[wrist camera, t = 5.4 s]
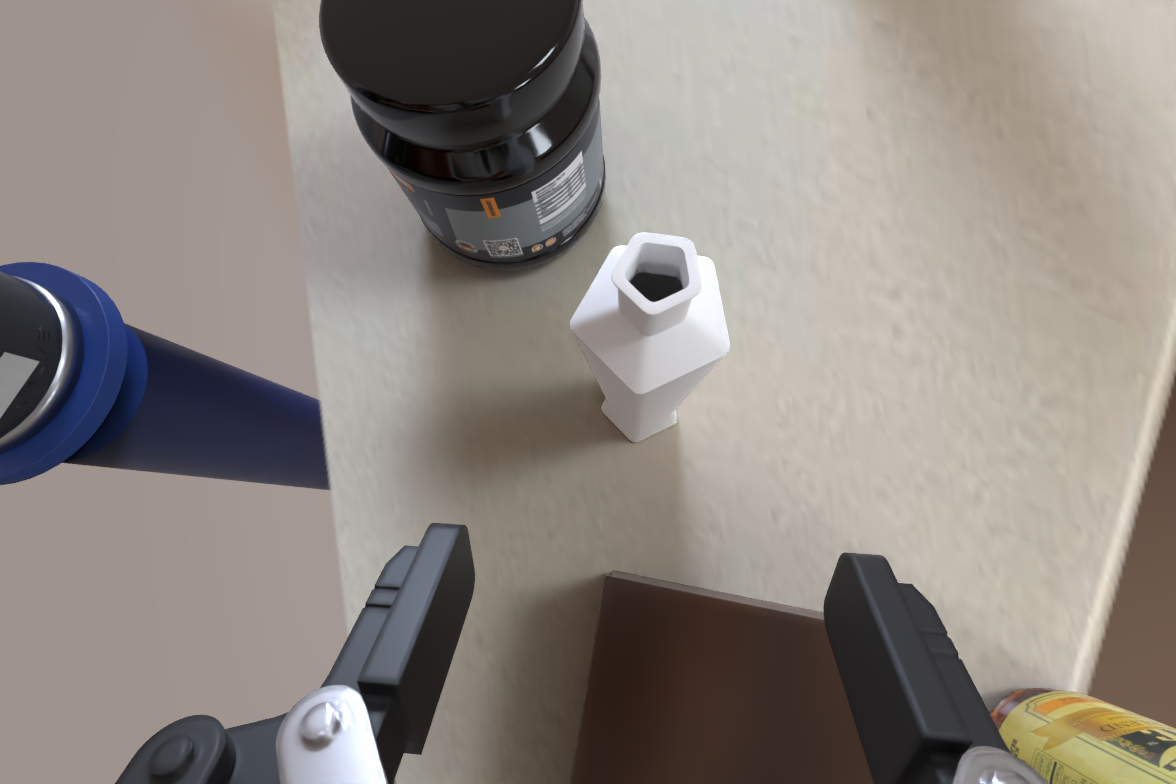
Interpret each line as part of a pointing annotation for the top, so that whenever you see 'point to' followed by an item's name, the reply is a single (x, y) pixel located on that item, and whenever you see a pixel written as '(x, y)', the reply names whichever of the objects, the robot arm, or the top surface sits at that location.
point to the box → (712, 692)
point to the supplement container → (479, 117)
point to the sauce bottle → (1085, 739)
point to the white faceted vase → (651, 330)
